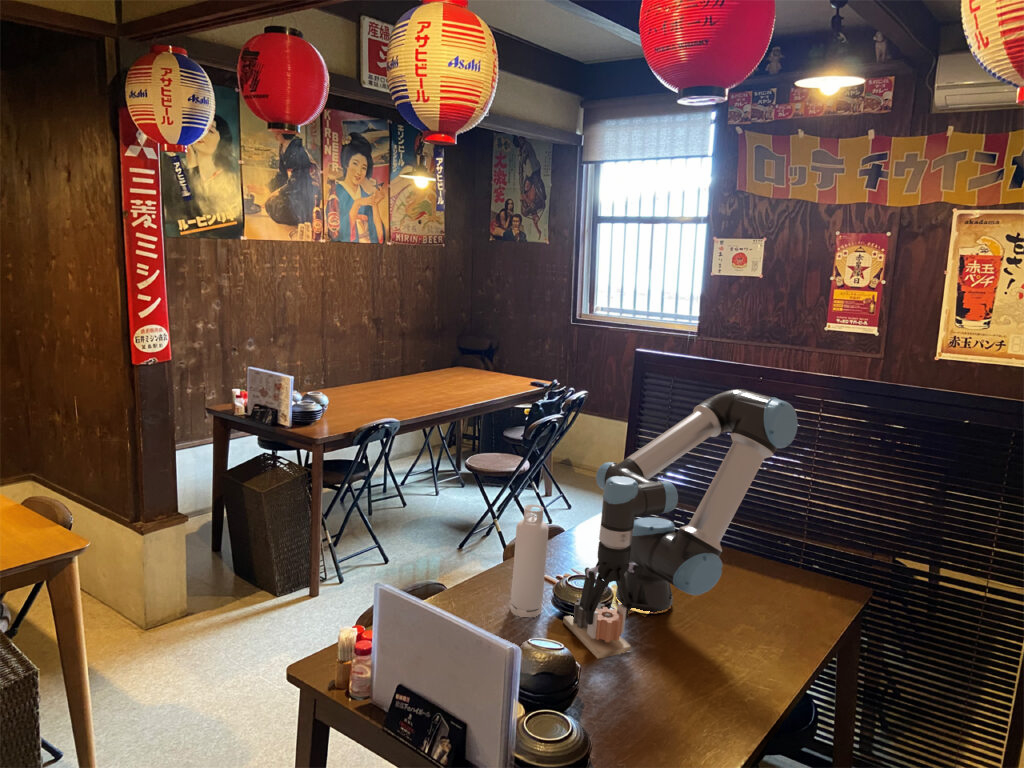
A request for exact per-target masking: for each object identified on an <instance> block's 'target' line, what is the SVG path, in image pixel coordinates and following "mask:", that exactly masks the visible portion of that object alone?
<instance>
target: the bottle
mask: <svg viewBox="0 0 1024 768" xmlns="http://www.w3.org/2000/svg"><path fill="white" fill-rule="evenodd" d="M532 508H539V509H540V510H538V511H537V510H536V511H535V510H532ZM523 512H524V513H523V518H522V519H521V520H520V521H518V523H517V525H516V529H515V541H514V542H515V544H514V559H513V566H512V567H513V570H512V581H511V584H512V585H511V596H510V608H509V609H511V610H510V612H511V613H512V614H513V615H514V614H515V615H514V616H516V615H518V616H521V617H520V618H522V617H534V618H537V617H539V616H540V615H541V614H542V612H541V611H543V605H542V604H543V598H544V587H545V586H544V585H545V575H546V574H545V572H546V564H547V553H548V552H547V551H548V542H549V541H548V539H549V529H550V528H549V525H548V524H547V522H545V521H544V507H543V506H541V505H539V504H532V503H531V504H527V505H525V506H524V511H523ZM539 614H540V615H539ZM538 615H539V616H538ZM518 616H517V617H518ZM536 616H537V617H536Z"/></svg>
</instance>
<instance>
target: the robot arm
mask: <svg viewBox="0 0 1024 768" xmlns="http://www.w3.org/2000/svg"><path fill="white" fill-rule="evenodd" d="M798 423H799V422H798V415H797V412H796V410H795V408H794V406H792V404H791V403H789V402H788V401H786V400H782V399H779V398H777V397H775V396H774V397H772V396H768V395H765V394H761V393H758V392H757V393H756V392H754V391H750V390H747V389H744V388H743V389H739V388H738V389H737V388H736V389H730V390H726V391H723V392H721V393H718V394H715V395H713V396H711V397H708V398H707V399H705V400H704V401H702V402H701V403H699V404H698V405H696V406H695V407H694V408H693V410H692V413H691V414H689V415H688V416H686V417H685V418H684V419H682V420H680V421H679V422H677V423H676V424H675V425H673V426H672V427H670V428H669V429H667V430H666V431H665V432H663V433H661V434H660V435H658V436H656V438H654V439H653V440H651V441H650V442H648V443H647V444H645V445H644V446H642V447H641V448H639V449H638V450H637V451H635V452H634V453H632V454H630V455H629V456H627V457H626V458H625V459H623V460H622V461H620V462H619V463H617V462H612V461H609V462H604V463H603V464H601V465H600V466H599V468H598V470H597V471H596V475H595V481H596V484H597V486H598V487H599V488H600V489H601V490H603V493H602V509H601V521H600V526H599V527H600V529H599V535H598V536H599V537H598V539H599V542H598V545H597V546H598V547H597V563H596V565H595V566H594V567H592V568H590V567H588V566H587V567H585V569H584V575H585V577H584V582H583V588H582V590H581V596H580V598H581V600H580V607H581V608H582V609H583V610H584V611H586V622H587V623H588V627H587V634H588V635H589V636H590V637H591V638H592V639H594V638H595V637H596V628H597V618H598V612H597V611H596V608H597V606H598V604H599V601H600V602H601V598H602V597H603V594H604V592H605V590H606V588H608V586H609V585H610V583H612V582H615V584H616V591H615V598H616V597H617V599H618V600H619V601H620V602H621V603H622V604H621V603H618V602H617V607H616V610H618V614H622V615H623V622H622V631H621V635H622V634H625V625H626V619H628V617H629V612H630V610H629V609H631V608H636V609H640V610H643V611H650V612H657V611H662V610H665V609H668V608H669V607H670V606H671V605H672V606H673V601H674V599H673V597H674V596H673V591H672V587H671V585H672V586H674V587H675V588H676V589H678V590H679V591H682V592H684V593H686V594H688V595H690V596H701V595H703V594H704V593H707V592H709V591H710V590H712V589H713V588H714V587H715V586H716V585H717V583H718V582H719V580H720V578H721V576H722V573H723V569H722V568H723V561H722V560H721V558H720V556H721V554H722V552H723V548H722V546H721V541H722V539H723V537H724V536H725V533H726V531H727V530H728V528H729V526H730V523H731V522H732V520H733V518H734V517H735V514H736V513H737V511H738V510H739V507H740V505H741V503H742V501H743V499H745V498H744V497H745V496H746V493H747V492H748V490H749V488H750V486H751V484H752V482H753V481H754V479H755V477H756V475H757V473H758V471H759V470H760V467H761V466H762V464H763V462H764V460H765V459H768V458H771V457H774V454H775V453H776V451H777V449H784V448H787V447H788V446H789V445H791V444H792V442H793V441H794V439H795V437H796V436H797V431H798V426H799V425H798ZM726 432H731V433H730V437H731V438H730V439H731V440H732V444H731V446H730V448H729V450H728V451H727V453H726V455H725V457H724V458H723V461H722V462H721V464H720V466H719V467H718V469H717V471H716V473H715V475H714V477H713V478H712V481H711V483H710V484H709V486H708V488H707V490H706V492H705V494H704V496H703V497H702V499H701V501H700V502H699V505H698V506H697V509H696V510H695V512H694V514H693V516H692V517H691V520H690V521H689V523H688V524H687V525H683V526H680V527H679V529H678V530H677V532H676V533H675V531H676V525H675V523H674V522H673V521H671V520H670V519H666V518H661V517H649V516H655V515H662V514H664V513H669V512H672V511H674V510H675V508H676V507H677V505H678V501H679V493H678V490H677V487H676V486H675V485H674V484H673V483H672V482H671V481H668V480H657V481H653V480H651V478H652V477H654V476H655V475H657V474H658V473H659V472H661V471H663V470H664V469H665V468H667V467H668V466H670V465H671V464H673V463H674V462H675V461H677V460H678V459H680V458H681V457H683V456H684V455H686V454H687V453H688V452H690V451H691V450H692V449H695V447H697V446H698V445H700V444H701V443H703V442H704V441H706V440H707V439H709V438H710V437H711V438H712V437H713V438H716V437H718V436H719V435H721V434H722V433H726ZM647 516H648V517H647ZM636 518H637V519H636Z"/></svg>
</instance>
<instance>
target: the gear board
mask: <svg viewBox="0 0 1024 768" xmlns="http://www.w3.org/2000/svg"><path fill="white" fill-rule="evenodd" d="M580 598H581V597H579V598H577V599H576V602H574V608H573V615H574V617H573V616H571V615H565V616H563V620H562V621H563V624H564V625H565V626H566V627H567V628H568V629H569V630H570V631H571V632H572V633H573V635H575V636H576V638H577V639H578V640H579V641H580V642H581V643H582V644H583V645H584V646H585V647H586V648H587V650H589V652H591V654H593V655H594V657H596V658H597V659H603V658H608V657H612V656H617V654H618V655H622V654H621V653H623V654H626V653H625V652H627V651H632V646H631V644H630V643H628V641H626V640H625V639H624V638H623V637H622V635H621V636H620V637H619V640H618V641H615V640H610V642H605V640H603V639H599V640H597V639H595V638H594V639H592V638H591V637H590V636H589V635H588V634H587V627H588V623H587V622H586V611H584V610H583V609H582V608H581V607H580V600H581V599H580ZM577 602H578V603H577ZM603 607H606V606H605V603H601V600H600V601H599V604H598V606H597V609H603ZM605 617H607V618H610V617H611V615H610V614H608V613H606V614H605Z"/></svg>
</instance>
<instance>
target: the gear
mask: <svg viewBox="0 0 1024 768" xmlns="http://www.w3.org/2000/svg"><path fill="white" fill-rule="evenodd" d="M596 611H597V612H598V618H597V628H596V637H595V639H597V640H599V639H603V640H605V642H610V640H615V641H618V640H619V637H620V636H621V637H622V634H621V631H622V622H623V615H622V614H618V610H617V609H616V608H614V609H609V608H608V607H607V606H605V607H603V609H597V608H596ZM606 613H608V614H610V615H611V617H610V618H607V617H605V614H606Z"/></svg>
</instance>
